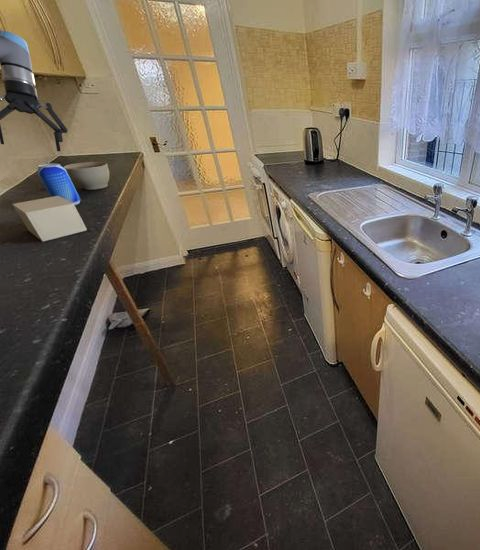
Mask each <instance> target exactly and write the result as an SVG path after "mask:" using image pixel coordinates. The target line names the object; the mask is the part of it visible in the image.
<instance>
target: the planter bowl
mask: <svg viewBox="0 0 480 550" xmlns="http://www.w3.org/2000/svg"><path fill="white" fill-rule="evenodd" d="M63 168H64V169H65V170H66V171H67V173H68V175H69V177H70V179H71V180H72V181H73V182H75V183H76V184H77V185H79V186H80V187H82V189H84V190H87V191H88V190H91V191H92V190H100V189H105V188H107V187H108V186H109V184H108V183H109V180H110V170H109V165H108V163H107V162H105V161H85V162H76V163H70V164H67V165H64V166H63Z"/></svg>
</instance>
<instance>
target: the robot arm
mask: <svg viewBox="0 0 480 550" xmlns="http://www.w3.org/2000/svg"><path fill="white" fill-rule="evenodd" d="M0 71H1V76H2V80H4V81H3V85H4V91H5V94H4V95H3V94H1V93H0V102H2V101H3V100H5V101H6V103H8V104H7V105H6V106H5V107H4V108H3V109H0V121H1V120H3V119H4V118H6V117H7V116H8V115H9V114H10V113H13V112H14V111H16V112H19V113H26V114H29V115H33V114H35V115H36V116H37V117H38V118H39V119H41V120H42V121H43V122H44V123H45V124H47V125H48V126H49V127H50V128H51V129H52V130H53V136H54V140H55V146H56V151H57V152H61V145H60V143H63V140H64V139H63V134H67V133H68V128H67V127H66V125H65V124H64V123H63V122H62V120H61V118H59V116H58V115H57V114H56V112H55V111H54V110H53V107H52V104H51V103H50V102H46V103H43V102H40V101H39V96H38V92H37V91H38V90H37V88H36V81H35V75H34V69H33V65H32V58H31V53H30V50H29V46H28V43H27V41H26V40H25V39H24V38H22V37H21V36H19V35H18V34H16V33H13V32H10V31H5V30H2V29H0ZM40 108H43V109H44V110H45V111H47V112H48V114H49V115H50V117H51V118H52V119H53V120H54V122H55V123H54V122H53V121H52V120H51V119H50V118H48V117H47V116H46V114H44V113H43V112H42V110H41V109H40ZM4 141H5V140H4V136H3V130H2V125H1V124H0V145H5V142H4Z"/></svg>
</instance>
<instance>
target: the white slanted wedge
mask: <svg viewBox="0 0 480 550" xmlns="http://www.w3.org/2000/svg"><path fill="white" fill-rule="evenodd" d="M12 206H13V208H14V209H15V211H16V213H17V214H18V216H19V217H20V219H21V221H22V222H23V224H24V226H25V227H26V229H27V230H28V232H30V233H31V234H32V235H34V236H35V237H36V238H37V239H39V240H40V241H41V242H47V241H51V240H54V239H59V238H62V237H67V236H71V235H75V234H78V233H83V232H86V231H87V230H88V228H87V227H86V225H85V223H84V221H83V219H82V217H81V215H80V213H79V211H78V209H77V208H76V205H74V204H73V203H71V202H70V201H68V200H66V199H64V198H62V197H60V196H54V197H51V196H49V197H44V198H38V199H32V200H27V201H21V202H15V203H12Z"/></svg>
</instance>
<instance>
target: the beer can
mask: <svg viewBox="0 0 480 550" xmlns="http://www.w3.org/2000/svg"><path fill="white" fill-rule="evenodd" d="M36 173H37V175H38V177H39V178H40V180H41V183H42V184H43V186H44V188H45V189H46V191H47V193H48V194H49V197H54V196H60V197H62V198H64V199H66V200H68V201H70V202H71V203H73V204H74V205H75V206H77V205H80V202H81V197H80V195H79V193H78V191H77V190H76V187H75V185H74V184H73V182H72V181H73V180H72V178H71V177H70V176H69V175H68V173H67V171H66V170H65V169H64V166H62V165H61V164H60V163H50V164H46V163H44V164H43V163H42V164H39V165H37V172H36Z"/></svg>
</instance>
